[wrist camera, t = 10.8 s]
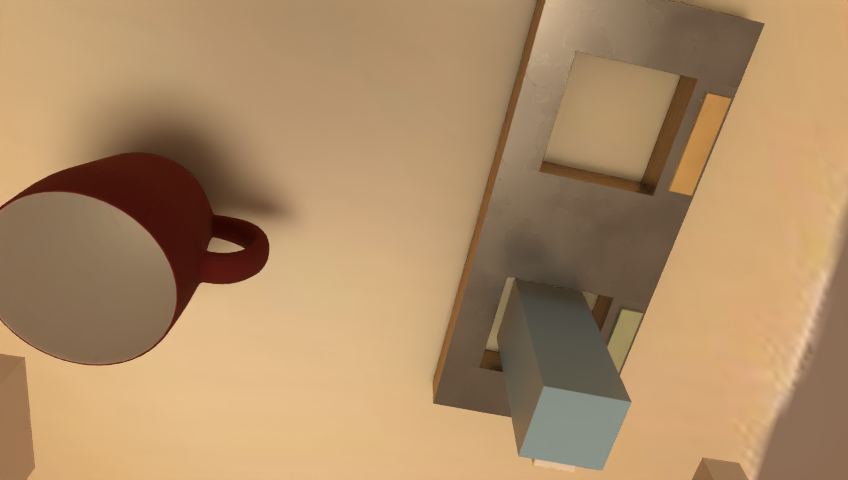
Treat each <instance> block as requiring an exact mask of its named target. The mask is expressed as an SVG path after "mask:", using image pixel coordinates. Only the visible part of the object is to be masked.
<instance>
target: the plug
mask: <svg viewBox="0 0 848 480" xmlns="http://www.w3.org/2000/svg"><path fill="white" fill-rule="evenodd" d="M497 341H498V347H499V352H500V357H501V363H502V368H503V374H504V379H505V385H506V390H507V396H508V401H509V407H510V412H511V417H512V423H513V428H514V434H515V439H516V445H517V450H518V456H520V457H526V458H531V459H532V462H533V465H535V466H540V467H546V468H552V469H558V470H563V471H569V472H574V471H575V468H576V466H578V467H583V468H589V469H595V470H601V471H602V470H603V467H604V465H605V463H606V460H607V458H608V456H609V453H610V451H611V449H612V446H613V444H614V442H615V439H616V437H617V435H618V432H619V430H620V428H621V425H622V423H623V421H624V418H625V416H626V414H627V411H628V409H629V407H630V404H631V400H630V398H629V395H628V393H627V391H626V389H625V387H624V384H623V382H622V380H621V378H620V375H619V373H618V371H617V369H616V366H615V364H614V362H613V360H612V357H611V355H610V353H609V351H608V349H607V346H606V344H605V342H604V340H603V337H602V335H601V333H600V331H599V328H598V326H597V324H596V322H595V320H594V317H593V315H592V313H591V311H590V308H589V306H588V304H587V302H586V299H585V297H584V295H583V293H582V292H580V291H575V290H569V289H564V288H559V287H554V286H549V285H544V284H539V283H534V282H529V281H524V280H519V279H515V280H514V284H513V287H512V290H511V293H510V296H509V300H508V303H507V306H506V309H505V312H504V316H503V319H502V322H501V325H500V328H499V332H498V335H497Z"/></svg>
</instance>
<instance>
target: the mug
mask: <svg viewBox="0 0 848 480" xmlns="http://www.w3.org/2000/svg"><path fill="white" fill-rule="evenodd" d="M212 237H215V238H220V239H223V240H226V241H229V242H232V243H235V244H237V245H239V246H241V247H243V248H245V249H244V250H241V251H237V252H232V253H215V252H208V251H207V248H208V244H209V242H210V240H211V238H212ZM268 256H269V242H268V239H267V236H266V234H265V233H264V232H263V231H262V230H261V229H260V228H259V227H258V226H256V225H254V224H252V223H250V222H248V221H244V220H241V219H237V218H231V217H226V216H219V215H214V214H213V212H212V210H211V207H210V204H209V202H208V199H207V197H206V195H205V193H204V191H203V189H202V187H201V186H200V184H199V183H198V181H197V180H196V179H195V177H194V176H193V175H192V174H191V173H190V172H188V171H187V170H186V169H185V168H183V167H182V166H181V165H179V164H177V163H175V162H173V161H171V160H169V159H167V158H164V157H161V156H158V155H153V154H148V153H124V154H119V155H114V156H111V157H107V158H104V159H100V160H96V161H93V162H89V163H86V164H82V165H79V166H75V167H72V168H68V169H65V170H62V171H59V172H57V173H54V174H52V175H49V176H47V177H46V178H44V179H42V180H40V181H38V182H36V183H34V184H33V185H31V186H30V187H28V188H27V189H25V190H24V191H22V192H21V193H19V194H18V195H16V196H15V197H14V198H12V199H11V200H9V201H8V202H6V203H5V204H4V205H2V206H1V207H0V320H1V321H2V322H3V323H4V324H5V325H6V326H7V327H8V328H9V329H10V330H11V331H12V332H13V333H14V334H15V335H17V336H18V337H19V338H20V339H22V340H23V341H25V342H26V343H27V344H29V345H31V346H32V347H34V348H36V349H38V350H39V351H41V352H43V353H45V354H48V355H50V356H53V357H55V358H58V359H61V360H64V361H68V362H72V363H77V364H84V365H112V364H119V363H123V362H127V361H130V360H133V359H135V358H137V357H140V356H142V355H144V354H145V353H147V352H149V351H150V350H151V349H153V348H154V347H155V346H156V345H157V344H158V343H160V342H161V341H162V340H163V338H164V337H165V336H166V335H167V334H168V332H169V331H170V329H171V328H172V327H173V325H174V324H175V322H176V321H177V320H178V318H179V317H180V315H181V314H182V312H183V311H184V309H185V307H186V306H187V304H188V303H189V301H190V299H191V297H192V296H193V294H194V292H195V290H196V289H197V287H198V285H199V284H200V283H202V282H205V283H212V284H231V283H236V282H240V281H243V280H246V279H248V278H250V277H252V276H254V275H256V274H257V273H259V272H260V271H261V270H262V269H263V267H264V266H265V264H266V262H267V260H268Z"/></svg>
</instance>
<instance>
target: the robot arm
mask: <svg viewBox="0 0 848 480" xmlns="http://www.w3.org/2000/svg"><path fill="white" fill-rule="evenodd" d="M34 468H35V463H34V452H33V441H32V430H31V420H30V409H29V398H28V388H27V377H26V366H25V357H18V356H11V355H5V354H0V480H27V478H28V477H29V475H30V474H31V472H32V471H33V470H34ZM692 480H748V478H747V476H746V475H745V473H744V471H743V469H742V467H741V466H740V464H739V463H735V462H728V461H721V460H715V459H708V458H702V460H701V462H700V464H699V466H698V468H697V470H696V472H695V474H694V476H693V478H692Z"/></svg>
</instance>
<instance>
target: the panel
mask: <svg viewBox="0 0 848 480" xmlns="http://www.w3.org/2000/svg"><path fill="white" fill-rule="evenodd" d="M763 26H764V23H760V22H756V21H752V20H748V19H744V18H740V17H736V16H732V15H728V14H724V13H719V12H715V11H711V10H707V9H703V8H699V7H695V6H691V5H686V4H682V3H678V2H674V1H670V0H538V2H537V5H536V9H535V13H534V16H533V20H532V24H531V27H530V31H529V34H528V38H527V42H526V45H525V49H524V53H523V56H522V60H521V64H520V67H519V71H518V74H517V78H516V82H515V85H514V89H513V93H512V96H511V100H510V104H509V107H508V111H507V114H506V118H505V122H504V125H503V129H502V133H501V136H500V140H499V144H498V147H497V151H496V154H495V158H494V162H493V165H492V169H491V173H490V176H489V180H488V184H487V187H486V191H485V195H484V198H483V202H482V205H481V209H480V213H479V216H478V220H477V224H476V227H475V231H474V235H473V238H472V242H471V245H470V249H469V253H468V256H467V260H466V264H465V267H464V271H463V275H462V278H461V282H460V285H459V289H458V293H457V296H456V300H455V304H454V307H453V311H452V315H451V318H450V322H449V325H448V329H447V333H446V336H445V340H444V344H443V347H442V351H441V355H440V358H439V362H438V365H437V369H436V373H435V376H434V380H433V403H434V404H440V405H445V406H451V407H457V408H462V409H468V410H473V411H479V412H484V413H490V414H496V415H501V416H507V417H511V412H510V407H509V401H508V396H507V390H506V385H505V379H504V374H503V368H502V363H501V357H500V352H494V351H489V350H485V347H486V344H487V340H488V337H489V334H490V331H491V327H492V324H493V321H494V317H495V314H496V311H497V308H498V304H499V301H500V298H501V295H502V291H503V288H504V285H505V282H506V278H507V276H508V277H513V278H518V279H523V280H528V281H533V282H538V283H543V284H548V285H553V286H558V287H563V288H568V289H573V290H578V291H583V292H588V293H593V294H598V295H599V297H598V300H597V303H596V305H595V308H594V311H593V313H592V315H593V317H594V320H595V322H596V324H597V326H598V328H599V331H600V333H601V335H602V337H603V340H604V342H605V344H606V346H607V349H608V351H609V353H610V355H611V357H612V360H613V362H614V364H615V366H616V369H617V371H618V373H619V375H620V373H621V371H622V368H623V366H624V364H625V361H626V359H627V356H628V354H629V351H630V349H631V347H632V344H633V342H634V339H635V337H636V335H637V332H638V330H639V327H640V325H641V322H642V320H643V318H644V315H645V313H646V310H647V308H648V305H649V303H650V301H651V298H652V296H653V293H654V291H655V288H656V286H657V284H658V281H659V279H660V276H661V274H662V271H663V269H664V267H665V264H666V262H667V259H668V257H669V254H670V252H671V250H672V247H673V245H674V242H675V240H676V237H677V235H678V233H679V230H680V228H681V225H682V223H683V220H684V218H685V216H686V213H687V211H688V208H689V206H690V204H691V201H692V199H693V196H694V194H695V191H696V189H697V187H698V184H699V182H700V179H701V177H702V174H703V172H704V170H705V167H706V165H707V162H708V160H709V157H710V155H711V153H712V150H713V148H714V145H715V143H716V140H717V138H718V136H719V133H720V131H721V128H722V126H723V123H724V121H725V119H726V116H727V114H728V111H729V109H730V106H731V104H732V102H733V99H734V97H735V94H736V92H737V89H738V87H739V85H740V82H741V80H742V77H743V75H744V72H745V70H746V68H747V65H748V63H749V60H750V58H751V56H752V53H753V51H754V48H755V46H756V43H757V41H758V39H759V36H760V34H761V31H762V29H763ZM576 51H579V52H583V53H588V54H592V55H596V56H601V57H605V58H609V59H613V60H618V61H622V62H626V63H631V64H635V65H639V66H644V67H648V68H652V69H657V70H661V71H665V72H670V73H674V74H678V75H682V76H681V78H680V81H679V84H678V86H677V89H676V92H675V94H674V97H673V100H672V102H671V105H670V108H669V110H668V113H667V116H666V118H665V121H664V124H663V126H662V129H661V132H660V134H659V137H658V140H657V142H656V145H655V148H654V150H653V153H652V156H651V158H650V161H649V164H648V166H647V169H646V172H645V174H644V177H643V180H642V182H641V183H639V182H635V181H630V180H625V179H621V178H616V177H611V176H607V175H602V174H597V173H593V172H588V171H584V170H579V169H574V168H570V167H565V166H560V165H556V164H551V163H546V162H542V161H543V157H544V154H545V151H546V148H547V144H548V141H549V138H550V134H551V131H552V128H553V125H554V121H555V118H556V115H557V112H558V108H559V105H560V102H561V99H562V95H563V92H564V89H565V85H566V82H567V79H568V76H569V72H570V69H571V66H572V63H573V59H574V56H575V53H576Z"/></svg>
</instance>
